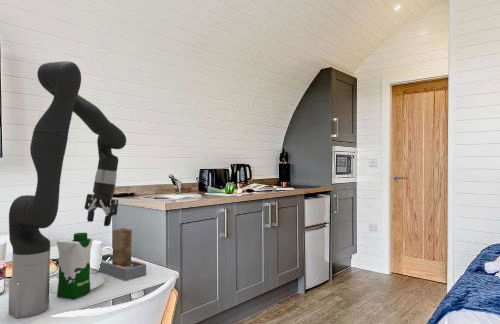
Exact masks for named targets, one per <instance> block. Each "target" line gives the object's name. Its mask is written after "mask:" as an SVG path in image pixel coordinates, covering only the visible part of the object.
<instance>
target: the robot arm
mask: <svg viewBox="0 0 500 324" xmlns="http://www.w3.org/2000/svg"><path fill="white" fill-rule="evenodd" d="M36 76H37V79H38V82H39V84H40V85H41V86H42V88H44V90H45V91H46V92H48V93H49V94H50V95H52V96H53V99H52V101H51V103H50V105H49V106H48V108H47V109H46V111H45V112H44V113H43V114H42V115H41V117H40V118H39V119H38V121H37V123H36V124H35V125H34V126H35V127H34V129H33V132H32V135H31V136H32V137H31V142H30V148H29V149H30V150H29V152H30V157H31V160H32V163H33V164H34V168H35V171H36V177H37V183H36V188H35V194H34V195H31V194H30V195H28V194H27V195H20V196H17V197H16V198H15V199H14V200H13V201H12V203H11V205H10V208H9V212H8V232H9V235H8V236H9V243H10V245H11V247H12V264H11V265H12V269H11V270H12V271H11V273H12V275H11V278H9V279H8V314H9V315H11V316H12V317H14V318H15V319H19V318H25V317H26V318H27V317H33V316H36V315H39V314H42V313H44V312H46V311H48V310H49V307H50V275H51V274H50V273H51V269H50V267H51V265H50V263H51V260H50V259H51V241H50V239H49V238H47V237H46V236H45V235H43V234H42V232H41V231H40V229H46V228H50V226H51V225H53V223H54V222H55V220H56V218H57V215H58V210H59V204H60V203H59V201H60V187H61V186H60V185H61V179H62V178H61V177H62V172H63V171H62V170H63V166H64V164H63V163H64V158H65V154H66V150H67V145H68V138H69V131H70V126H71V121H72V118H73V113H74V114H75V115H76V116H77V117H78V118H79V119H80V120H81V121H82V122H83V123H84V124H85V125H86V127H87V128H89V130H91V132H92V133H93V134H95V135H98V136H97V141H96V143H97V151H98V152H97V153H98V162H97V169H96V172H95V177H94V182H93V187H92V188H93V189H92V193H88V194H87V195H86V198H85V205H84V210H87V217H86V219H87V222H90V223H91V222H93V221H94V219H95V211H96V210H97V209H102V211H103V212H104V214H105V216H104V221H103V226H104V227H109V226H110V225H111V222H112V217H113V216H117V215H118V207H119V199H115V198H114V199H113V195H114V194H115V188H116V183H117V176H118V175H117V171H118V168H119V167H118V165H119V158H118V156H116V155H114V154H113V152H112V149H113V150H121V149H123V148H124V147H125V146H126V144H127V137H126V134H125V133H124V131H122V129H120V128H119V127H118V126H117V125H115V124H114V123H113V122H111V121H110V120H109V119H108V118H107V116H106V115H105V114H104V113H103V112H102V110H101V109H100V108H99V107H97V106H96V105H95V104H93V103H92V102H91V101H89V100H87V99H86V98H84V97H82V96H81V95H80V94H79V92H80V89H81V84H82V73H81V70H80V68H79V66H78V65H77V64H76V63H75V62H73V61H68V60H67V61H65V60H64V61H54V62H46V63H43V64H41V65H40V66H39V67H38V69H37V75H36Z"/></svg>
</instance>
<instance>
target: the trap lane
mask: <svg viewBox="0 0 500 324" xmlns="http://www.w3.org/2000/svg"><path fill="white" fill-rule="evenodd" d="M101 255H102V260H101V264H100V268H99V271H98V272H99V273H102V274H105V275H107V276H110V277H114V278H117V279H119V280H121V281H125V282H126V281H130V280H134V279H138V278H140V277H144V276H147V264H146V263H145V262H141V261H139V260H138V261H137V260H132V259H131V265H130V266H126V267H122V266H119V265H113V264H112V257H113V253H106V254H101ZM109 257H110V259H109V260H108V261H107V262H106V260H107V259H108V258H109Z"/></svg>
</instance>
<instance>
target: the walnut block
mask: <svg viewBox="0 0 500 324" xmlns="http://www.w3.org/2000/svg"><path fill="white" fill-rule="evenodd" d="M132 230H133V229H131V228H126V227H123V228H117V229H113V230H112V254H113V257H112V264H113V265H119V266H122V267H126V266H130V265H131V260H132V241H133V240H132V238H133V235H132V234H133V231H132Z"/></svg>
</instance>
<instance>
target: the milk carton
mask: <svg viewBox="0 0 500 324" xmlns="http://www.w3.org/2000/svg"><path fill="white" fill-rule="evenodd" d="M93 241H94V238H92V237H88V233H87V232H76V233H73V236H72V237H69V238H64V239H60V240H57V241H56V245H57V251H58V282H57V291H56V298H61V299H67V300H73V301H75V300H77V299H79V298H81V297H84V296H86V295H87V294H90V293H91V277H90V276H91V268H90V258H91V249H92V245H93Z"/></svg>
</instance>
